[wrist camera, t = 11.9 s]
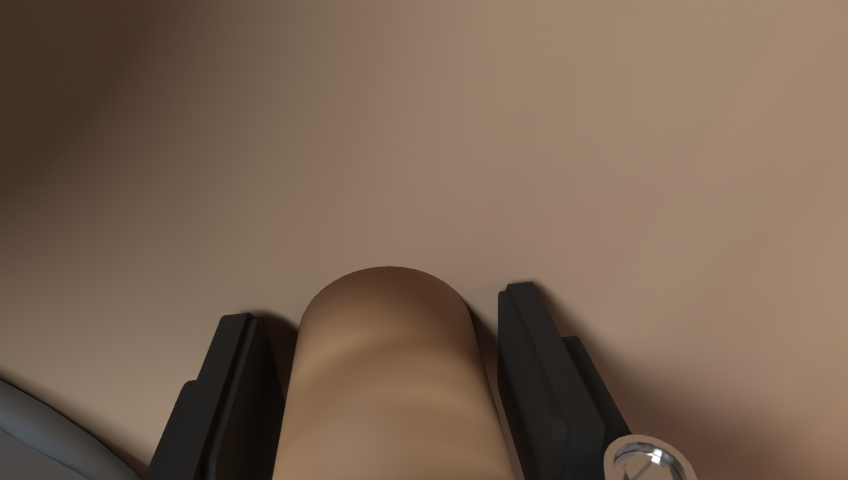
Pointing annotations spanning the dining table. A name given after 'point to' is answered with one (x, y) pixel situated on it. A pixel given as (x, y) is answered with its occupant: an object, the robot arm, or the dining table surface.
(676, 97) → the dining table surface
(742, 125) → the dining table surface
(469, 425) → the bead
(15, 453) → the tray
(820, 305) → the dining table surface
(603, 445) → the robot arm
